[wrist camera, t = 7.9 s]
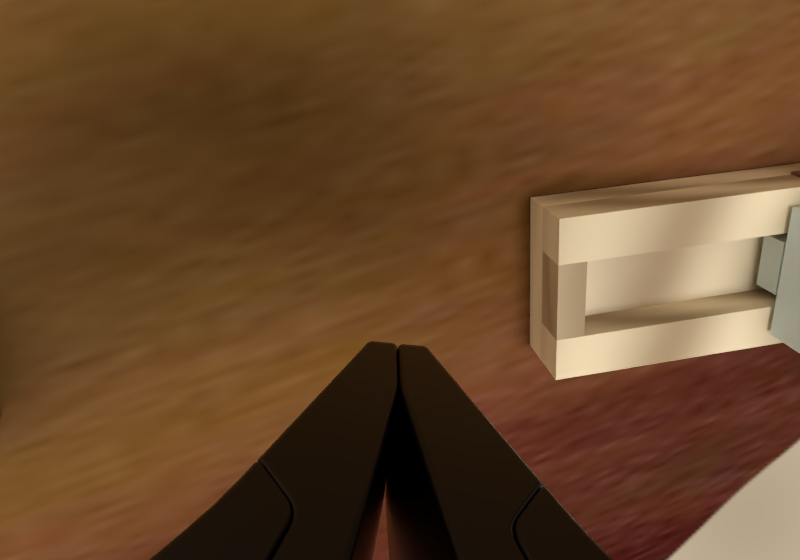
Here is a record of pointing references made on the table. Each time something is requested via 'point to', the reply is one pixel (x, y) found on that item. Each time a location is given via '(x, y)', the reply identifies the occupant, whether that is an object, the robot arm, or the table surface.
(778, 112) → the table surface
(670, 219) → the beam
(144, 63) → the table surface
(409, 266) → the table surface
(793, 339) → the block
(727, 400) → the table surface
